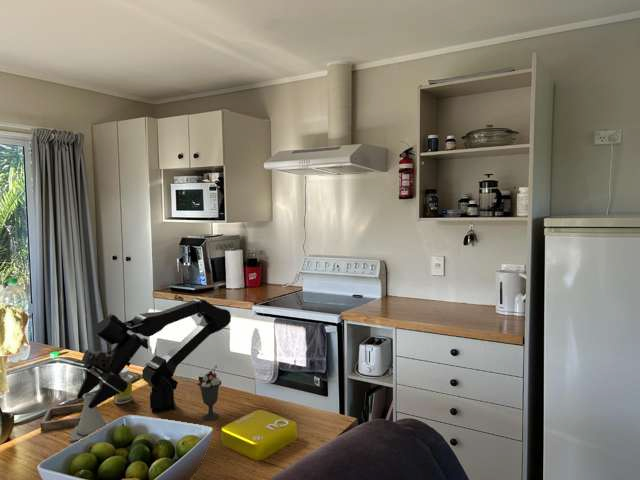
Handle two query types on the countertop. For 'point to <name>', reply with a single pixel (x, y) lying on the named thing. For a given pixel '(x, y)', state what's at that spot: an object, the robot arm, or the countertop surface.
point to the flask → (90, 417)
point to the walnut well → (62, 422)
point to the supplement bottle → (127, 393)
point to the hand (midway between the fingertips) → (83, 402)
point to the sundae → (210, 393)
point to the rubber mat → (77, 436)
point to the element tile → (259, 434)
